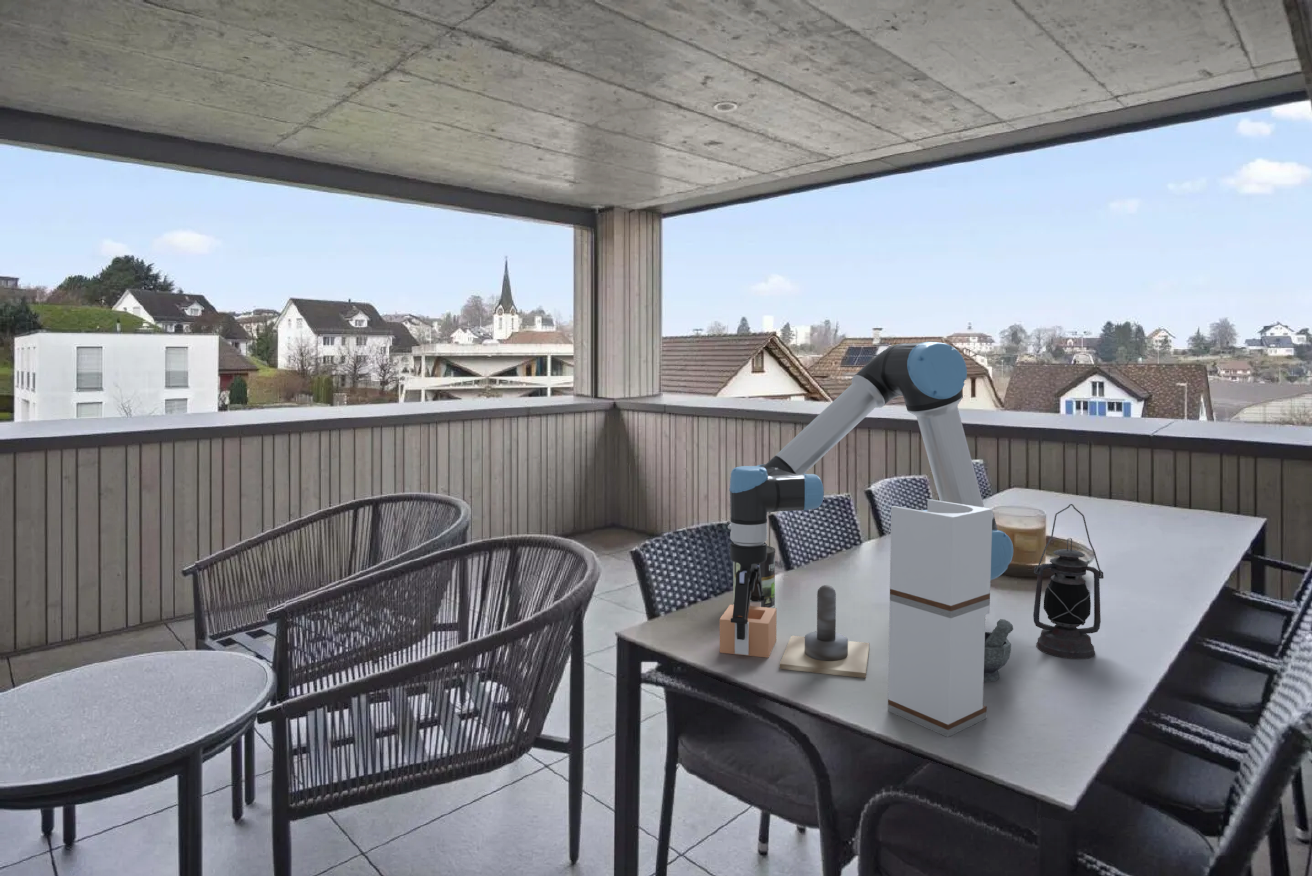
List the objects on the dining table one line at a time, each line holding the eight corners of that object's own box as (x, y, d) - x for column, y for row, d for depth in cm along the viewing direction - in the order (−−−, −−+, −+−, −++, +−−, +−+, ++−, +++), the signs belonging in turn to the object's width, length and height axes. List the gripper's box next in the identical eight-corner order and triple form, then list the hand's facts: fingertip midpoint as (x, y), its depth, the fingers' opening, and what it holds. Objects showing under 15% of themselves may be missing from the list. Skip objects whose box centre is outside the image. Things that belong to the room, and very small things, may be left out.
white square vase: (986, 718, 126) (992, 508, 123) (947, 737, 120) (953, 517, 117) (926, 694, 136) (930, 499, 132) (887, 710, 130) (891, 506, 126)
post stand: (869, 647, 158) (870, 577, 157) (865, 678, 143) (866, 600, 142) (791, 640, 163) (791, 571, 162) (779, 668, 148) (779, 593, 147)
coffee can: (776, 600, 191) (776, 544, 189) (774, 613, 181) (774, 554, 179) (734, 598, 193) (734, 543, 191) (730, 611, 183) (730, 553, 181)
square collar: (776, 640, 163) (776, 608, 162) (768, 657, 154) (768, 623, 153) (730, 635, 166) (730, 604, 165) (719, 652, 157) (719, 619, 156)
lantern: (1094, 643, 159) (1100, 500, 156) (1105, 662, 149) (1112, 509, 146) (1028, 637, 163) (1033, 497, 160) (1035, 655, 153) (1040, 506, 150)
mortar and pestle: (942, 670, 146) (943, 608, 145) (977, 661, 150) (979, 601, 149) (990, 692, 136) (992, 626, 135) (1027, 682, 140) (1029, 618, 139)
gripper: (742, 528, 171) (742, 620, 173) (716, 554, 147) (716, 662, 149) (776, 530, 168) (775, 624, 170) (755, 557, 145) (755, 666, 147)
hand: (748, 642), depth 160 cm, fingers open, 13 cm apart
